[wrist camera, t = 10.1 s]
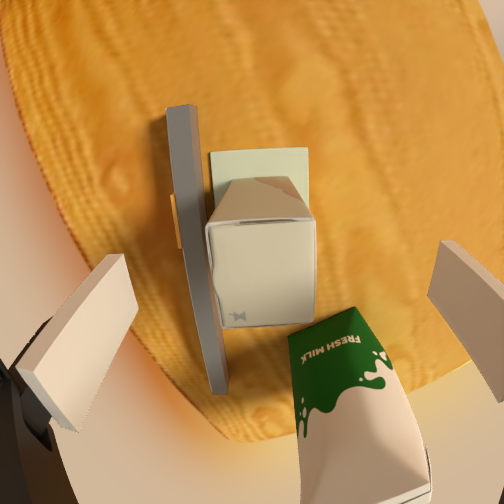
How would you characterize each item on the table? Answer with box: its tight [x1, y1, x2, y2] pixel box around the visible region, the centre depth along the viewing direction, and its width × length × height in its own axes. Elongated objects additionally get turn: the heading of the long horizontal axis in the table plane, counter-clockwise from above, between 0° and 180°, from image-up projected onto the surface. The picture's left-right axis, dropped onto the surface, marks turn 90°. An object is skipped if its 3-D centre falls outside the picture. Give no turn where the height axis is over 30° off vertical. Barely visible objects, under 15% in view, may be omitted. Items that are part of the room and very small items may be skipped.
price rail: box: [166, 105, 229, 394], centre depth 23 cm, size 26×2×2 cm, turn 3°
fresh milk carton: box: [288, 307, 432, 504], centre depth 18 cm, size 9×9×20 cm
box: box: [205, 176, 317, 329], centre depth 17 cm, size 5×4×11 cm
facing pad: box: [210, 147, 309, 209], centre depth 22 cm, size 9×7×1 cm
